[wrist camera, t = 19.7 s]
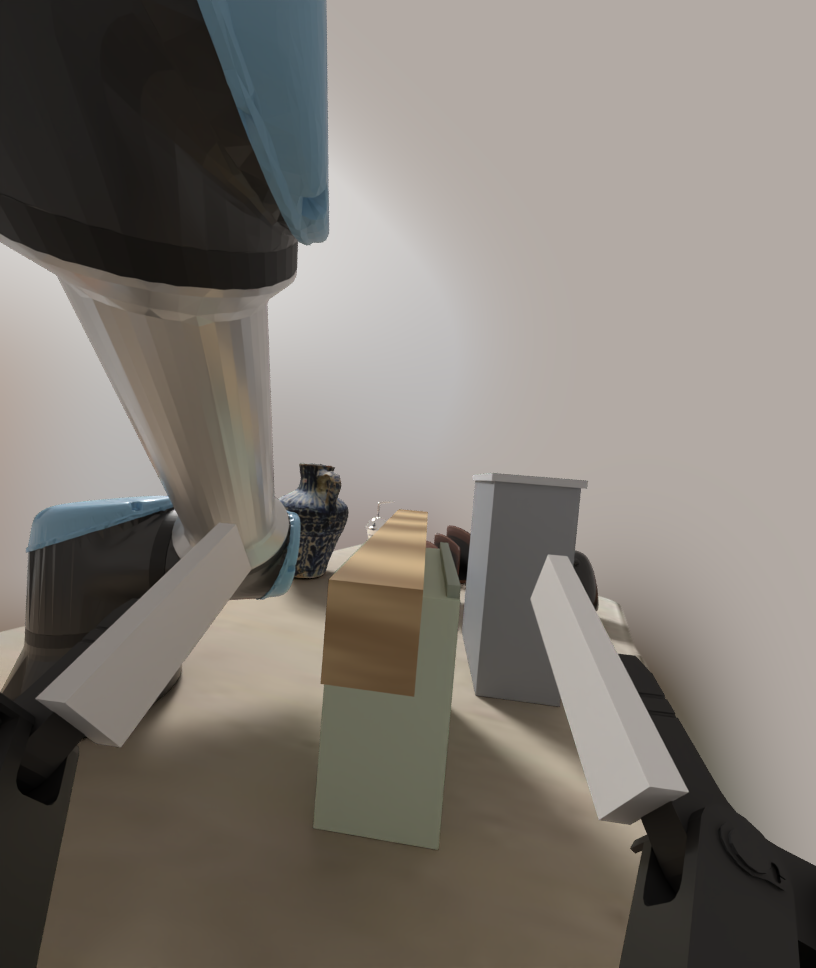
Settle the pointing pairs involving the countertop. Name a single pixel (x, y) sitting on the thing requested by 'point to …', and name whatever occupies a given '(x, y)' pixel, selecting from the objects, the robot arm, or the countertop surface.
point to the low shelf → (394, 734)
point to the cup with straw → (376, 522)
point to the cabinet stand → (514, 581)
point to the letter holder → (455, 548)
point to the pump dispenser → (586, 577)
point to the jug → (316, 517)
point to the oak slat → (378, 610)
